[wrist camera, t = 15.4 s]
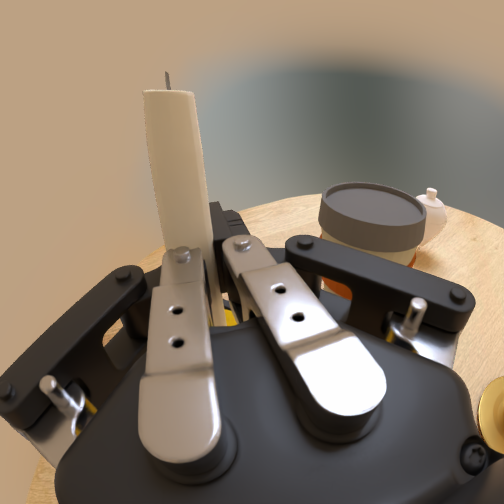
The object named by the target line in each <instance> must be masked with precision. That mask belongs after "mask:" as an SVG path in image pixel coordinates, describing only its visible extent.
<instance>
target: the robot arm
mask: <svg viewBox="0 0 504 504" xmlns="http://www.w3.org/2000/svg"><path fill="white" fill-rule="evenodd" d="M209 208H210V216H211V223H212V231H213V242H214V249H215V257H216V264H217V270H218V277H219V284H220V291H221V293H226V292H227V293H228V297H229V304H230V308H231V311H232V313H233V316H234V318H235V320H236V323H237V325H234V326H214V320H213V312H212V307H211V304H212V297H211V291H210V286H209V280H208V274H207V268H206V263H205V259H204V260H203V256H202V251H201V249H200V248H199V247H198V248H194V249H189V248H188V247H186V246H181V247H178V248H176V249H170V250H168V251H167V252H166V253H165V254H164V255H163V259H162V265H161V266H160V267H158V268H157V269H155V270H152V271H150V272H147V273H145V274H144V272H143V270H142V269H141V268H140V267H138V266H135V265H128V266H123V267H120V268H117V269H115V270H114V271H112V272H111V273H110V274H109V275H107V276H106V277H105V278H104V279H103V280H101V281H100V282H99V283H98V284H97V285H96V286H94V287H93V288H92V289H91V290H90V291H89V292H88V293H87V294H86V295H84V296H83V297H82V298H81V299H80V300H79V301H77V302H76V303H75V304H74V305H73V306H72V307H71V308H70V309H69V310H68V311H66V312H65V313H64V314H63V315H62V316H61V317H60V318H59V319H58V320H57V321H56V322H55V323H53V325H51V326H50V327H49V328H48V329H47V330H46V331H45V332H44V333H43V334H42V335H41V336H40V337H39V338H38V339H37V340H36V341H35V342H34V343H33V344H32V345H31V346H30V347H29V348H28V349H27V350H26V351H25V352H24V353H23V354H22V355H21V356H20V357H19V358H18V359H17V360H16V361H15V362H14V363H13V364H12V365H11V366H10V367H9V368H8V369H7V370H6V371H5V372H4V374H3V375H2V376H1V377H0V416H2V417H3V418H4V419H5V420H6V421H7V422H8V423H10V425H11V426H12V427H13V428H14V429H15V430H16V431H17V432H18V433H20V434H21V435H22V436H23V437H25V438H26V439H27V440H28V441H30V442H31V443H32V445H33V446H34V447H35V448H36V449H37V450H38V451H39V452H40V454H41V455H42V456H43V457H44V458H45V459H46V460H47V461H48V462H49V463H50V464H51V465H52V466H53V467H54V468H55V469H56V473H55V480H54V484H55V492H56V497H57V500H58V503H59V504H504V454H502V453H500V452H497V451H495V450H493V449H491V448H490V447H489V446H487V445H486V443H485V442H484V441H483V440H482V438H481V436H480V434H479V432H478V429H477V426H476V423H475V420H474V416H473V411H472V405H471V399H470V395H469V392H468V389H467V387H466V385H465V383H464V382H463V380H462V379H461V377H460V376H459V375H458V374H457V373H456V372H455V371H453V370H452V369H453V364H454V359H455V355H456V349H457V344H458V339H459V336H460V334H461V333H462V331H463V329H464V327H465V325H466V323H467V321H468V319H469V317H470V315H471V313H472V311H473V309H474V307H475V304H476V302H475V298H474V296H473V295H472V293H471V292H470V291H469V290H468V289H466V288H465V287H463V286H461V285H459V284H456V283H453V282H450V281H448V280H445V279H442V278H439V277H436V276H434V275H431V274H428V273H425V272H422V271H419V270H416V269H413V268H410V267H408V266H405V265H402V264H399V263H396V262H393V261H390V260H387V259H384V258H381V257H378V256H375V255H372V254H368V253H365V252H362V251H359V250H356V249H353V248H350V247H347V246H344V245H340V244H337V243H334V242H331V241H328V240H324V239H321V238H318V237H315V236H311V235H297V236H293V237H291V238H289V239H288V240H287V241H286V243H285V248H268V247H265V246H264V244H263V243H262V242H261V240H260V239H259V238H257V237H255V236H252V235H250V233H249V231H248V229H247V227H246V226H245V224H244V222H243V220H242V218H241V216H240V215H239V213H237V212H235V211H233V210H227V211H222V208H221V206H220V203H219V202H218V201H217V202H211V203H209ZM322 277H324V278H327V279H330V280H333V281H335V282H338V283H341V284H343V285H345V286H347V287H348V288H349V289H350V290H351V292H352V300H351V301H350V300H348V299H345V298H343V297H340V296H337V295H335V294H332V293H330V292H327V291H325V290H322V289H321V281H322ZM119 318H120V319H121V321H122V324H123V327H122V328H121V329H120V331H119V332H118V333H117V334H116V335H115V336H114V337H113V338H112V339H111V340H110V341H109V342H108V343H107V344H106V345H105V347H103V343H102V341H103V336H104V334H105V333H106V331H107V330H108V329H109V328H110V327H111V326H112V325H113V324H114V323H115V322H116V321H117V320H118V319H119Z"/></svg>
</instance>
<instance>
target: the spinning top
mask: <svg viewBox="0 0 504 504" xmlns="http://www.w3.org/2000/svg"><path fill="white" fill-rule="evenodd" d="M436 194H437V191H436V190H435V189H432V188H427V195H419V196H417V197H416V199H418V200H419V201H420V202H421V203H422V204H423V205H424V206H425V208H426V211H427V215H426V224H425V232H424V237H423V241H422V242H421V243H420V244H419V245H418V246H419V247H418V251H419V250H420V247H422V246H424V245H425V244H427V243H428V242H430V241H431V240H432V239H434V238H435V237H436V236H437V235H438V234H439V233H440V232H441V231H442V230H443V228H444V227H445V225H446V222H447V212H446V209H445V207H444V205H443V203H442V202H441V201H440V200H439V199H437V198H436Z"/></svg>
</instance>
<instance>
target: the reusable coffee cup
mask: <svg viewBox="0 0 504 504" xmlns="http://www.w3.org/2000/svg"><path fill="white" fill-rule="evenodd" d="M426 215H427V211H426V208H425V206H424V205H423V204H422V203H421V202H420V201H419V200H418V199H416V198H415V197H414V196H412V195H410V194H408V193H406V192H404V191H401V190H399V189H396V188H392V187H389V186H386V185H381V184H376V183H367V182H346V183H339V184H335V185H332V186H330V187H328V188H327V189H325V190H324V192H323V193H322V199H321V205H320V211H319V217H318V221H319V224H320V226H321V229H322V234H321V236H320V237H319V238H321V239H324V240H328V241H331V242H334V243H337V244H340V245H344V246H347V247H350V248H353V249H356V250H359V251H362V252H365V253H368V254H372V255H375V256H378V257H381V258H384V259H387V260H390V261H393V262H396V263H399V264H402V265H405V266H408V267H410V268H412V267H413V265H414V262H415V259H416V252H415V251H416V249H417V246H418V245H419V244H420V243H421V242H422V241H423V237H424V232H425V224H426ZM322 279H323V281H324V290H325V291H327V292H330V293H332V294H335V295H337V296H340V297H343V298H345V299H348V300H350V301H351V300H352V292H351V290H350V289H349V288H348V287H347V286H345V285H343V284H341V283H338V282H335V281H333V280H330V279H327V278H324V277H322Z"/></svg>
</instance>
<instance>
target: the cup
mask: <svg viewBox="0 0 504 504" xmlns="http://www.w3.org/2000/svg"><path fill="white" fill-rule="evenodd" d="M479 423H480V428H481V431H482V434H483V437H484V439H485V441H486V443H487V444H488V446H489V447H490V448H491V449H493V450H495V451H497V452H500V453H502V454H504V376H502V377H499V378H497V379H495V380H493V381H492V382H491V383H490V384H489V385H488V386H487V387H486V389H485V390H484V392H483V394H482V397H481V400H480V405H479Z"/></svg>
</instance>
